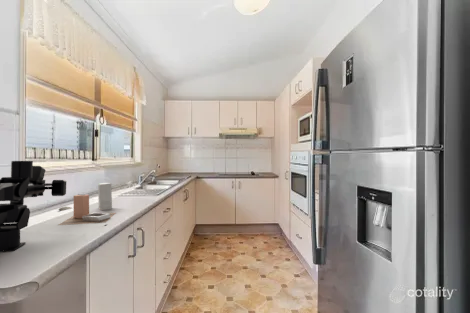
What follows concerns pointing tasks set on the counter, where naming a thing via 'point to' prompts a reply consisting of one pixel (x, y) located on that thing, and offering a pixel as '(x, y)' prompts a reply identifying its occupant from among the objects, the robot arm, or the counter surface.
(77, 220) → the walnut board
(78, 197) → the terracotta upright block
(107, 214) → the steel collar
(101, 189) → the skincare box
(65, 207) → the soupspoon
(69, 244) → the counter surface
